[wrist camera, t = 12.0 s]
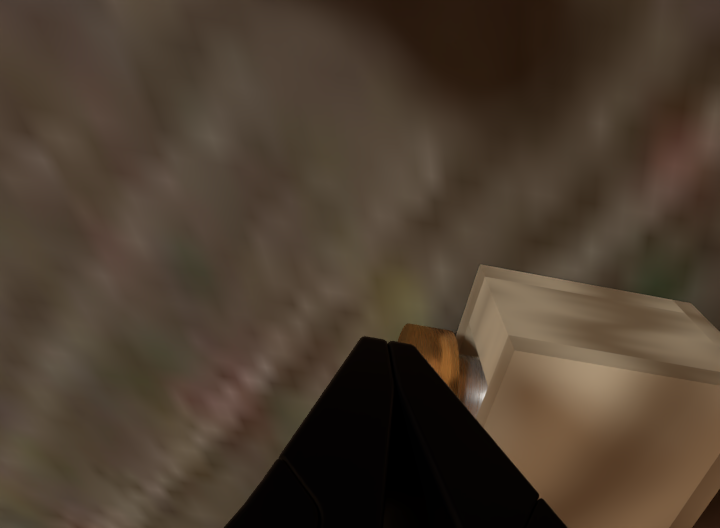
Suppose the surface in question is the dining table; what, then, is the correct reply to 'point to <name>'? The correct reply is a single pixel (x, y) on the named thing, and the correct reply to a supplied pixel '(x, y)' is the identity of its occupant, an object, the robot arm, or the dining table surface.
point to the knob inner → (449, 363)
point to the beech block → (599, 397)
